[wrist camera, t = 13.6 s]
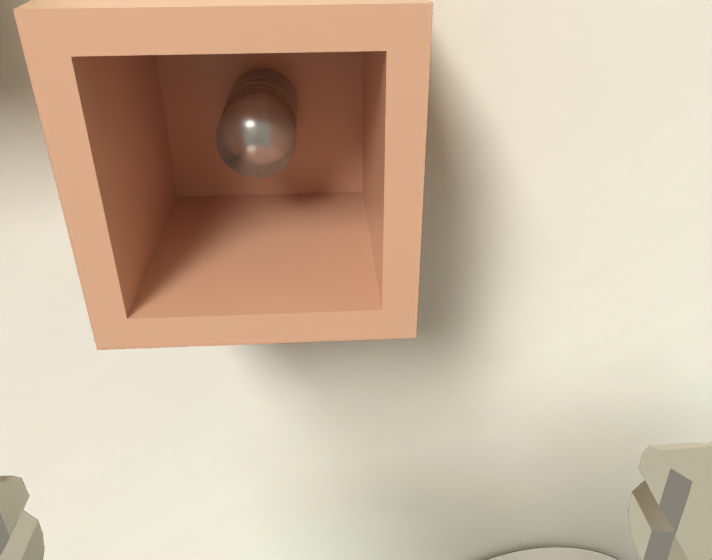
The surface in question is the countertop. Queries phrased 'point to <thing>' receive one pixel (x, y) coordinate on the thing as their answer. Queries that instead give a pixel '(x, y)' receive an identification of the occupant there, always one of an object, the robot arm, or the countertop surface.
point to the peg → (258, 124)
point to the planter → (222, 184)
